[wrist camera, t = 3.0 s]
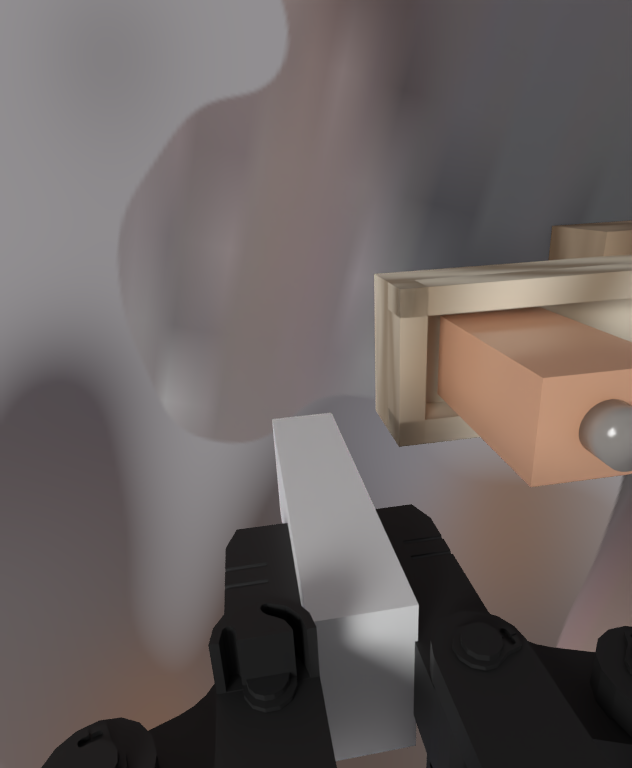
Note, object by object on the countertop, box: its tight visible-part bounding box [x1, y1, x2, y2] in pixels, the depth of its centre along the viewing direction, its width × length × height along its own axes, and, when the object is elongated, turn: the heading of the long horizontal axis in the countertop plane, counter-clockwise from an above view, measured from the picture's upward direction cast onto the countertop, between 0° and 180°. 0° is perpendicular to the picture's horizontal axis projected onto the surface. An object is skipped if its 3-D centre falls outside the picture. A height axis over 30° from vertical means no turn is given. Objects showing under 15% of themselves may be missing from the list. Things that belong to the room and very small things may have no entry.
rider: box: [437, 307, 632, 487], centre depth 16 cm, size 4×3×8 cm
